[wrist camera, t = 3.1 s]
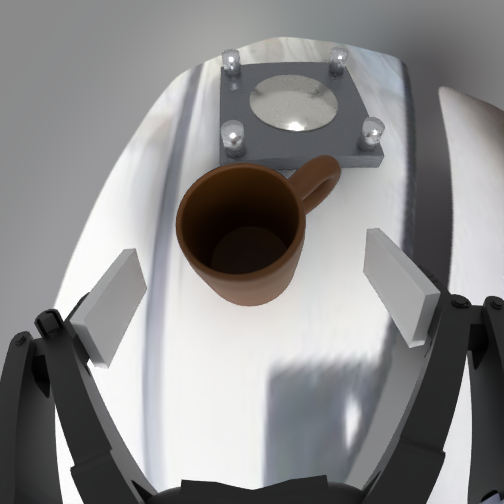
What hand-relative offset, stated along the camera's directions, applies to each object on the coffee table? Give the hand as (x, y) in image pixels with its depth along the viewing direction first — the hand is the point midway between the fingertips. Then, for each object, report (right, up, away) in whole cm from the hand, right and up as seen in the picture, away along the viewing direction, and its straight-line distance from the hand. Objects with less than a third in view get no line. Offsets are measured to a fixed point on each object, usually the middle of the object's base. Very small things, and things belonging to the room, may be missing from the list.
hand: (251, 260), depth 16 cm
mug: (+2, +1, +9) cm, 10 cm away
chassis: (+5, +16, +14) cm, 22 cm away
